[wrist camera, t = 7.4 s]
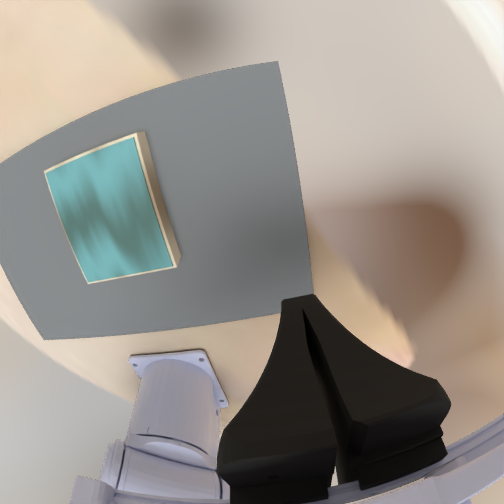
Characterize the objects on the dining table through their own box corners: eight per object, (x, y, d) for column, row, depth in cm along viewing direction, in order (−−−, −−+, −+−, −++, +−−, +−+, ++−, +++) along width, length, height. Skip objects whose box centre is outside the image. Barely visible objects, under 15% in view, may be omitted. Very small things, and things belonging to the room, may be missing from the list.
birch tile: (176, 268, 19) (87, 285, 19) (181, 256, 20) (95, 273, 21) (135, 132, 15) (42, 171, 15) (144, 130, 16) (55, 165, 17)
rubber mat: (313, 302, 23) (314, 306, 23) (45, 336, 25) (43, 339, 24) (276, 62, 15) (277, 61, 15) (-26, 183, 17) (-29, 184, 16)
